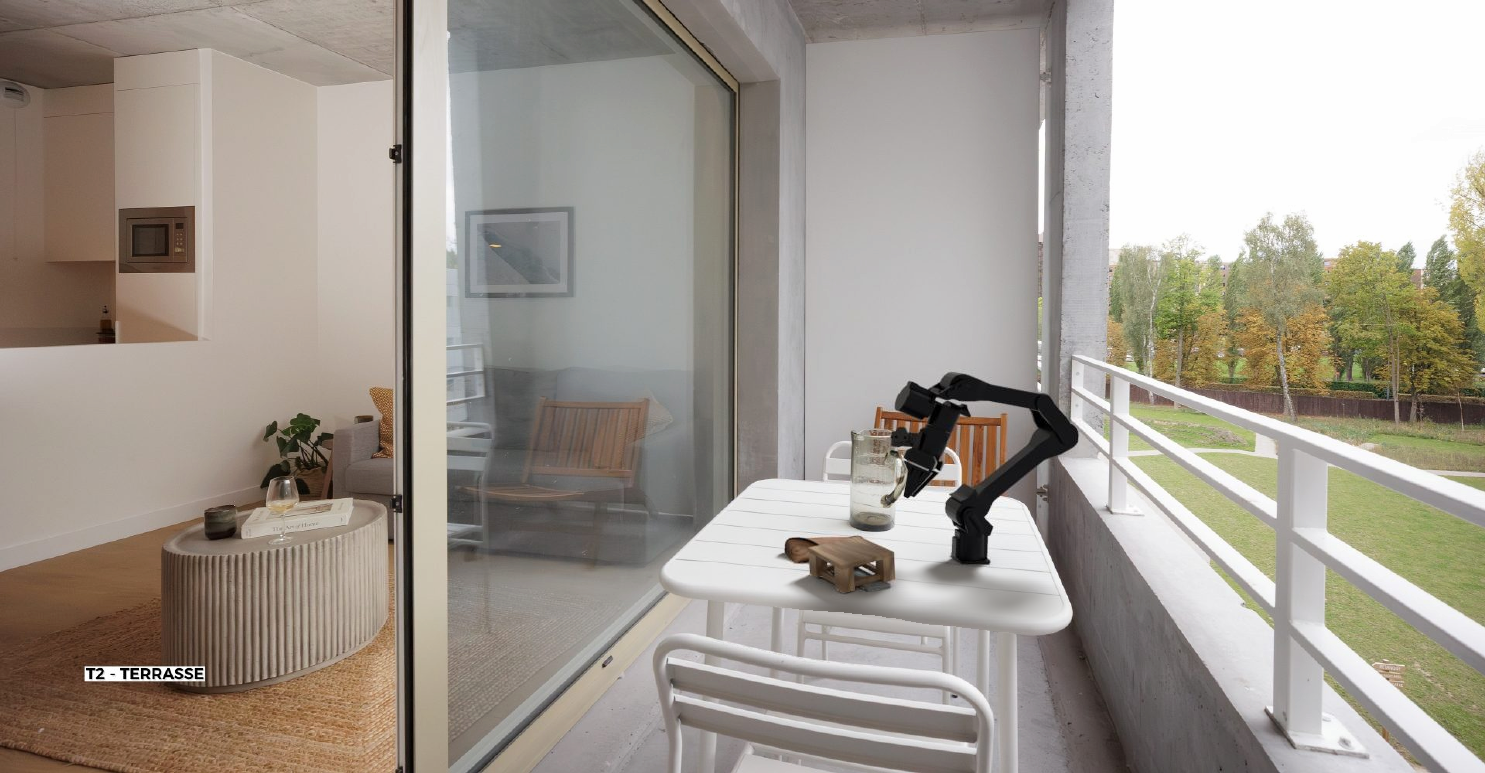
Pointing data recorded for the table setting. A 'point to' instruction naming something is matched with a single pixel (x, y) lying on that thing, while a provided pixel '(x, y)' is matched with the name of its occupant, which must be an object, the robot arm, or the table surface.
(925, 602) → the table surface
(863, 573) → the strip
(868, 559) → the wood grain block
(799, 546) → the sunglasses case
